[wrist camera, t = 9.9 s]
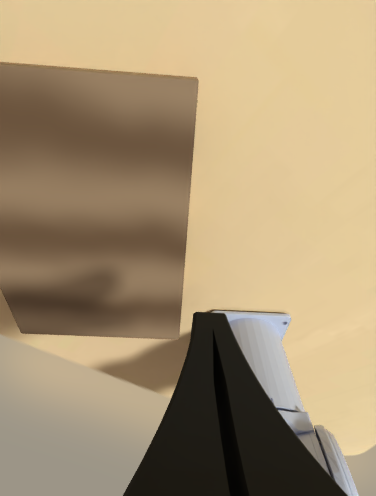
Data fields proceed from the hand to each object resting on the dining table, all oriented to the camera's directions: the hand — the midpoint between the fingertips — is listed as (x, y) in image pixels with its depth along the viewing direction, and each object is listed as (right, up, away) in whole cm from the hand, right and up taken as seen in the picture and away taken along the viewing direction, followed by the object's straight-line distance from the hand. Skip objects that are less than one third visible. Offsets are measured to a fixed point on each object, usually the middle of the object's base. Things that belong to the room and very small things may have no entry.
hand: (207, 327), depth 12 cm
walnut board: (-8, +5, +9) cm, 13 cm away
